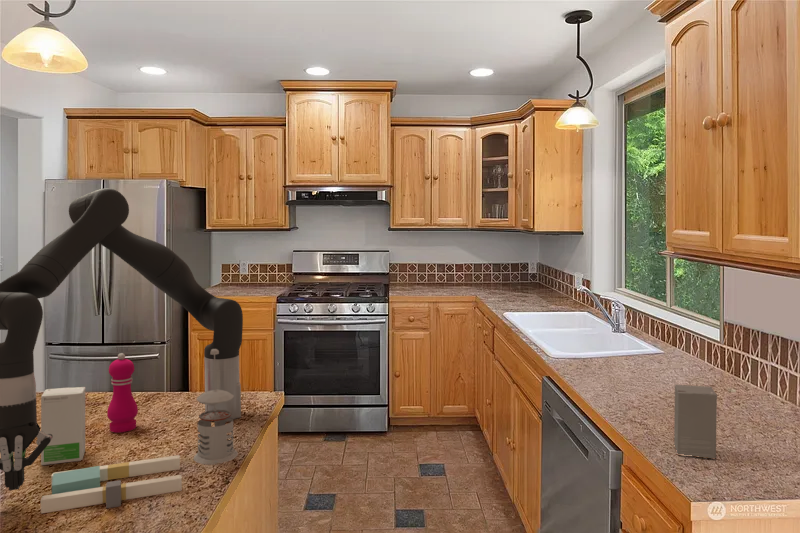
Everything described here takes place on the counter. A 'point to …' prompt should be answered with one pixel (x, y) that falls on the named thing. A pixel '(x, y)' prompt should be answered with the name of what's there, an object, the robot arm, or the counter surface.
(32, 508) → the counter surface
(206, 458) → the french press
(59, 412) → the skincare box
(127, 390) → the pepper mill
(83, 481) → the block
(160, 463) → the track
